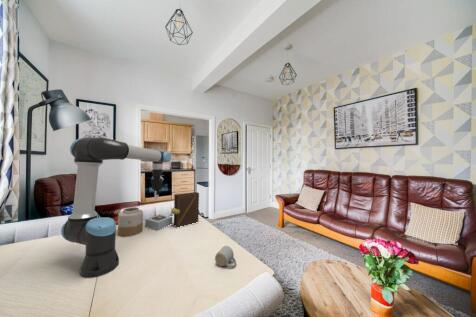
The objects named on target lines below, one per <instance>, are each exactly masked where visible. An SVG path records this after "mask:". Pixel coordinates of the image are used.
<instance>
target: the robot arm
mask: <svg viewBox="0 0 476 317" xmlns="http://www.w3.org/2000/svg"><path fill="white" fill-rule="evenodd" d="M69 150H70V155H72V156H73V157H74V160H73V163H74V164H76V166H77V169H76V176H75V177H76V179H75V188H74V196H73V197H74V199H73V204H72V205H73V206H72V213H71V214H70V215H68V216H67V220H66V221H65V223H63V225H62V226H61V230H60V232H61V234H60V235H61V236H62V238H63V239H64V240H66V241H68V242H69V243H76V244H79V245H84V246H85V255H84V259H83V261H82V264H81V266H80V267H79V268H80V269H79V275H80V276H81V277H82V278H97V277H100V276H103V275H105V274H108V273H110V272H112V271H113V270H115V269H116V268H117V267H118V266H119V263H120V257H119V255H118V253H117V249H116V233H117V226H116V225H117V224H116V220H114V218H113V217H112V218H111V217H108V216H107V217H102V216H100V217H98V215H99V214H98V212H97V211H95V209H96V208H95V207H96V199H97V198H96V197H97V187H98V178H99V177H98V176H99V168H100V166H102V165H103V163H104V161H109V160H122V161H123V160H126V159H130V160H136V161H137V160H138V161H141V162H152V167H151V173H152V176H151V177H150V178H149V179H150V183H151V189H152V190H153V194H154V200H157V199H158V200H159V197H160V196H159V195H160V191H161V190H162V188H163V182H164V180H165V178H164V177H162V176H163V172H164V171H163V168H164V167H163V166H164V163H169V162H171V160H172V154H171V153H170V152H169V151H164V150H163V149H151V148H145V147H139V146H134V145H130V144H128V143H127V142H123V141H119V140H115V139H112V138H108V137H88V136H87V137H82V138H77V139H76V140H74V141H73V142H72V143H71V145H70V146H69Z"/></svg>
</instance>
